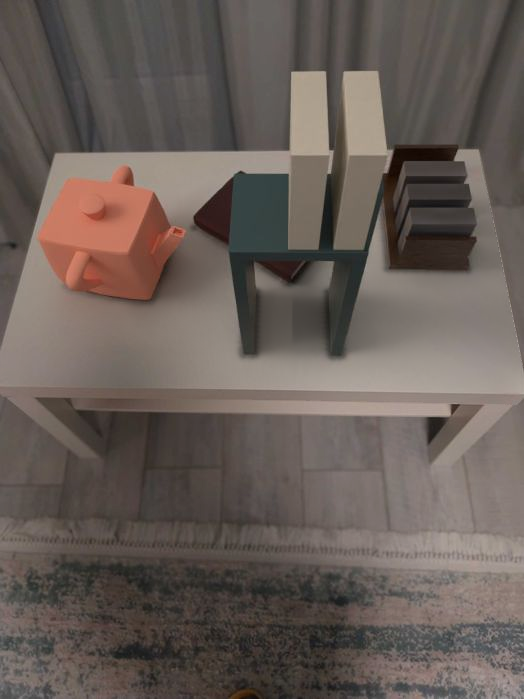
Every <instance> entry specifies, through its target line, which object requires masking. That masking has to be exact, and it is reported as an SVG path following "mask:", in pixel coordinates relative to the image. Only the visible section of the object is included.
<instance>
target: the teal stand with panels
mask: <svg viewBox="0 0 524 699" xmlns="http://www.w3.org/2000/svg"><path fill="white" fill-rule="evenodd" d="M290 72H291V76H290V77H291V78H290V108H289V109H290V110H289V111H290V115H289V153H288V154H289V155H288V173H247V174H236V173H233V176H234V181H233V195H232V209H231V222H230V236H229V245H228V249H227V250H228V251H227V252H228V258H229V265H230V272H231V279H232V286H233V292H234V299H235V307H236V313H237V320H238V326H239V333H240V339H241V347H242V353H243V355H254V354H255V336H256V334H255V333H256V314H257V312H256V311H257V282H256V268H255V262H256V261H309V262H333V264H332V271H331V276H330V282H329V288H328V313H329V315H328V316H329V343H330V347H329V348H330V356H342V355H343V351H344V347H345V343H346V339H347V336H348V332H349V328H350V325H351V322H352V317H353V314H354V311H355V306H356V302H357V299H358V295H359V291H360V289H361V288H360V287H361V284H362V282H363V277H364V273H365V269H366V264H367V261H368V258H369V254H370V248H371V243H372V239H373V236H374V233H375V229H376V226H377V221H378V217H379V214H380V210H381V206H382V204H383V203H382V199H383V195H384V185H383V173H385V167H386V163H387V159H388V155H389V154H388V146H387V144H388V143H387V137H386V128H385V117H384V109H383V100H382V92H381V84H380V73H379V70H344V71H343V72H342V81H341V87H340V88H341V89H340V97H339V103H338V104H339V105H338V112H337V121H336V129H335V136H334V145H333V152H332V159H331V166H330V167H331V169H330V173H328V171H329V164H330V163H329V162H330V132H329V131H330V130H329V111H328V110H329V109H328V85H327V82H328V81H327V71H326V70H325V71H324V70H319V71H317V70H316V71H314V70H313V71H309V70H308V71H306V70H305V71H290Z"/></svg>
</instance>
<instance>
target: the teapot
mask: <svg viewBox="0 0 524 699" xmlns="http://www.w3.org/2000/svg"><path fill="white" fill-rule="evenodd" d="M134 178H135V177H134V173H133V171H132V169H131V167H130V166H129V165H120V166H118V167H117V168H116V169H115V170H114V172H113V174H112V176H111V177H110V179H109V181H105V180H97V179H88V178H77V177H76V178H75V177H71V178H67V179H66V181H65V183H63V184H64V185H63V186H62V188H61V189H60V191H59V193H58V195H57V196H56V199H55V200H54V202H53V204H52V206H51V208H50V210H49V212H48V214H47V215H46V218H45V219H44V222H43V224H42V225H41V228H40V230H39V232H38V234H37V237H36V238H37V241H38V243H39V245H40V248H41V250H42V252H43V254H44V256H45V258H46V260H47V262H48V264H49V265H50V268H51V269H52V271H53V272H54V274H55V275H56V277H57V278H58V279H59V280H60V281H61V282H63V283H64V284H65V285H66V286H67V288H68V289H70V290H71V291H74V292H78V293H82V292H83V293H84V292H90V293H94V294H99V295H104V296H108V297H115V298H122V299H131V300H139V301H148V300H151V298H152V297H153V295H154V292H155V291H156V288H157V286H158V283H159V280H160V278H161V275H162V274H163V270H164V267H165V266H166V262H167V260H168V259H169V258H170V257H171V255H173V253H174V252H175V250H176V249H177V248H178V246H180V244H181V242H183V240H184V239H185V235H186V232H187V229H185V228H182V227H179V226H176V225H172V226H171V224H170V221H169V218H168V217H167V214H166V212H165V210H164V208H163V206H162V204H161V202H160V200H159V198H158V196H157V195H156V193H155V191H153V190H151V189H147V188H143V187H138V186H135V179H134Z"/></svg>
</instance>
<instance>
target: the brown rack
mask: <svg viewBox="0 0 524 699" xmlns="http://www.w3.org/2000/svg"><path fill="white" fill-rule="evenodd" d="M458 151H459V144H453V143H452V144H450V143H449V144H394V145H393V149H392V152H391V156H390V160H389V164H388V168H387V171H386V172H383V185H384V195H383V199H382V203H381V204H382V211H383V222H384V232H385V242H386V251H387V260H388V261H387V262H388V269H389V270H468V269H469V268H470V260H469V256H470V254H471V253H472V251H473V249H474V248H475V246H476V244H477V242H478V237H477V236H472V235H473V233H474V232H475V229H476V227H477V225H478V222H477V217H476V216H477V215H476V212H475V208H474V207H470V204H471V202H472V201H473V197H472V191H471V187H470V183H466V180H467V178H468V171H467V168H466V162H465V160H455V158H456V156H457V153H458Z"/></svg>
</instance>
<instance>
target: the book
mask: <svg viewBox="0 0 524 699" xmlns="http://www.w3.org/2000/svg"><path fill="white" fill-rule="evenodd" d="M235 174H248V173H246V172H245V171H244V170H238V172H236V173H235ZM233 181H234V175H233V176H231V177H230V178H229V179H228V180H227V181H226V182H225V183H224V184H223V185H222V186H221V188H220V189H218V190H217V191H216V192H215V193H214V194H213V195H212V196H211V197H210V198H209V199H208V200H207V201H206V202H205V203H204V204H203V205H201V207H200V208H199V209H198V210H197V211H196V212H195V214H194V215H193V216H192V219H193V223H194V224H195V226H196V227H198V228H200V229H201V230H203V231H205V232H207V233H208V234H210V235H211V236H213V237H215V238H216V239H218V240H219V241H221V242H223V243H225V244H227V245H228V246H229V236H230V222H231V209H232V195H233ZM255 263H257V264H259V265H260V266H262V267H264V268H266V269H267V270H269V271H270V272H272V273H273V274H274V275H275V276H278V277H279V278H281V279H282V280H284V281H285V282H287V283H293V281H294V280H296V278H297V277H298V276H299V274H300V273H301V272H302V271H303V270H304V268H305V267H306V266H307V264H309V263H310V261H255Z"/></svg>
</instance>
